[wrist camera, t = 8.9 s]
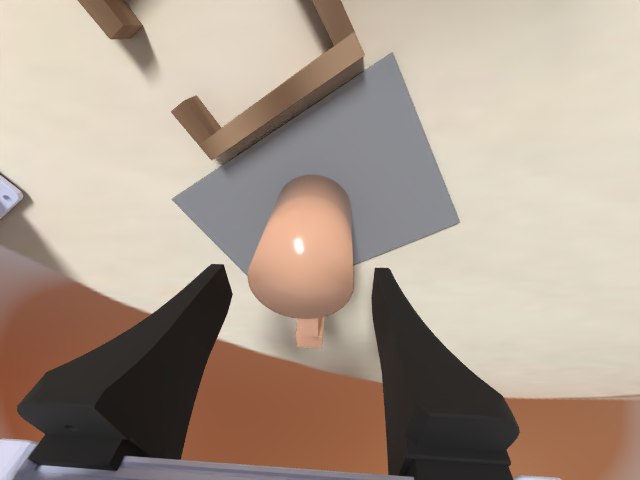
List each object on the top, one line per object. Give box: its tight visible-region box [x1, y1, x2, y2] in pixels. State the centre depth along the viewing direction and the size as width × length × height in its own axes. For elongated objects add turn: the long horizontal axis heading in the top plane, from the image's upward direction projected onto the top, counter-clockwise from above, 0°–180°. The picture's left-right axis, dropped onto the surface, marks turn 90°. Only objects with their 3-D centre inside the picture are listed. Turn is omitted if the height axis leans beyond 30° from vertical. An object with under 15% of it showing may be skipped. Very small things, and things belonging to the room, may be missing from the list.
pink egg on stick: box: [248, 175, 354, 348], centre depth 17 cm, size 9×5×7 cm, turn 2°
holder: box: [78, 0, 365, 160], centre depth 13 cm, size 10×10×2 cm
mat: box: [172, 53, 460, 276], centre depth 19 cm, size 16×11×1 cm
